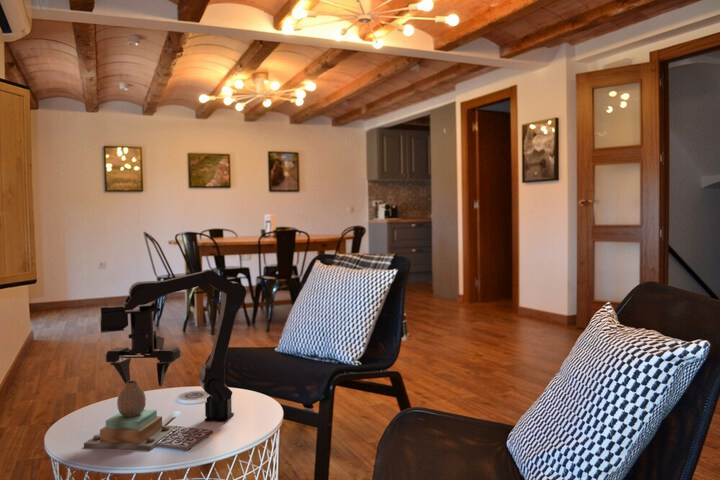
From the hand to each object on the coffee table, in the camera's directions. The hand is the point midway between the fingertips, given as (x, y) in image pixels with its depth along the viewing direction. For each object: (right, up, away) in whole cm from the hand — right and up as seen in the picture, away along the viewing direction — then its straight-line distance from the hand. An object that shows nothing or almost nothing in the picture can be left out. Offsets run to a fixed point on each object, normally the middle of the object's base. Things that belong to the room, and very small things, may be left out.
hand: (144, 386), depth 152 cm
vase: (-1, -6, -5) cm, 9 cm away
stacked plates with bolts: (-1, -12, -5) cm, 13 cm away
